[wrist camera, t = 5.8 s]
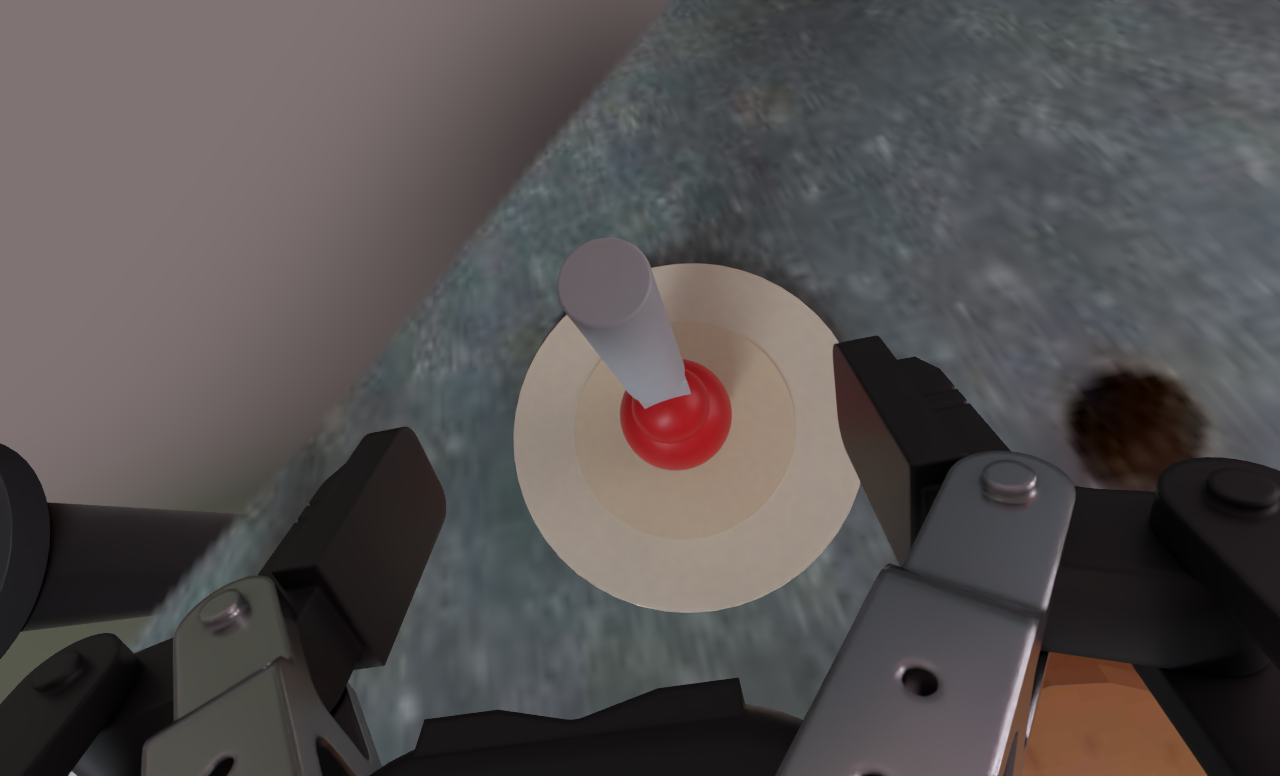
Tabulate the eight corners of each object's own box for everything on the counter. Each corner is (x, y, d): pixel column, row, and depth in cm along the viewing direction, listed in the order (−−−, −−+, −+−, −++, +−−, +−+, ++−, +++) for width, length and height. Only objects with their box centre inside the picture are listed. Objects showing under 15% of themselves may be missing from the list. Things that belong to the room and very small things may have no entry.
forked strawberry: (647, 489, 27) (523, 421, 12) (619, 394, 29) (475, 223, 13) (747, 458, 27) (748, 347, 12) (714, 363, 28) (677, 150, 13)
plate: (478, 559, 29) (470, 559, 28) (567, 248, 32) (562, 240, 31) (829, 656, 25) (832, 660, 25) (889, 298, 29) (894, 290, 28)
